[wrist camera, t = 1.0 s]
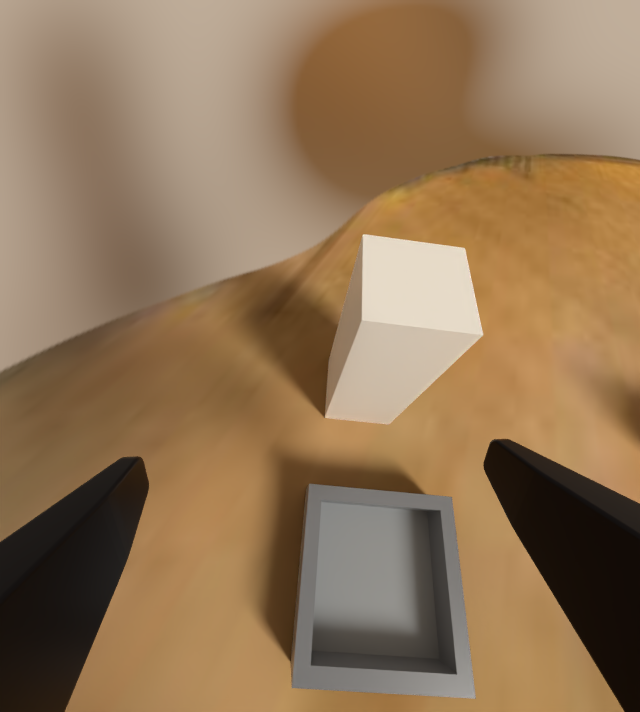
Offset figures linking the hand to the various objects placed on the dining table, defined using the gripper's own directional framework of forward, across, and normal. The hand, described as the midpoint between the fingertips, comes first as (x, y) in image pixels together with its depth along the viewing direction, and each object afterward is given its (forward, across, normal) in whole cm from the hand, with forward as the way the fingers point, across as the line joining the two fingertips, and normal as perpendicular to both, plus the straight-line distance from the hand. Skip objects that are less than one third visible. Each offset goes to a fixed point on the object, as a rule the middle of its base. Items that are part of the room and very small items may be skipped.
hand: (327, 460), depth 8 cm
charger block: (+15, -5, +7) cm, 17 cm away
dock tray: (+6, -4, +14) cm, 16 cm away
